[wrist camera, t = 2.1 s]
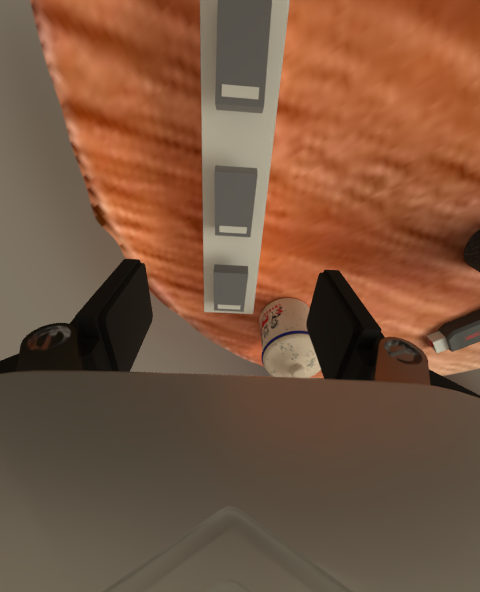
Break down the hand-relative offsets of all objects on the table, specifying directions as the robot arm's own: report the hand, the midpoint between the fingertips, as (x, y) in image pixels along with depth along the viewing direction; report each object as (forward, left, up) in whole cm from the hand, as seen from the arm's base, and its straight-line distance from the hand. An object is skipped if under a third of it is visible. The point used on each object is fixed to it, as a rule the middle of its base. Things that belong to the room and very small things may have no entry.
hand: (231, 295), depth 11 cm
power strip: (-2, 0, -24) cm, 24 cm away
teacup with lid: (+21, +9, -24) cm, 33 cm away
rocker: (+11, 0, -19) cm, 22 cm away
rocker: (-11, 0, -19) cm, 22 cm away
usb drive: (+19, +41, -25) cm, 51 cm away
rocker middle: (0, 0, -19) cm, 19 cm away
